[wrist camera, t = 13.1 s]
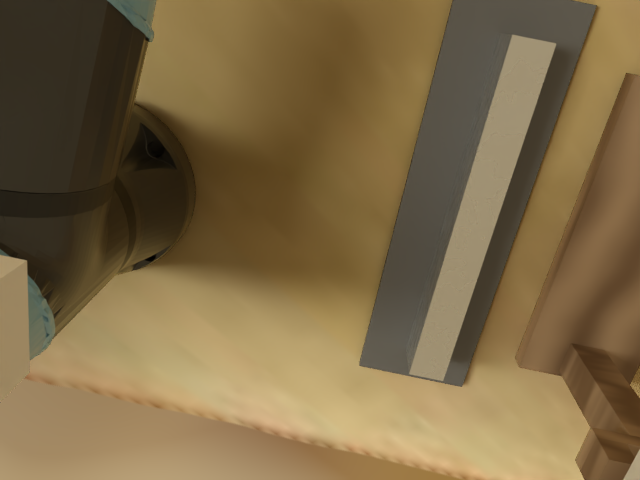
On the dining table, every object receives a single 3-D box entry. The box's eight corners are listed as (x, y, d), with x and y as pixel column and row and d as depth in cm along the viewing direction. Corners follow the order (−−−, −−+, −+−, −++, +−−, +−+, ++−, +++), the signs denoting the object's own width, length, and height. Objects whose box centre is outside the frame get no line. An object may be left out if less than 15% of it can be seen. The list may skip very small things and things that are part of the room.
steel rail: (406, 348, 50) (409, 374, 47) (498, 33, 40) (512, 34, 36) (437, 354, 50) (443, 381, 47) (538, 41, 40) (556, 43, 36)
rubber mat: (359, 362, 52) (359, 365, 51) (458, -22, 39) (459, -23, 38) (461, 383, 52) (462, 386, 51) (594, 5, 39) (596, 5, 38)
